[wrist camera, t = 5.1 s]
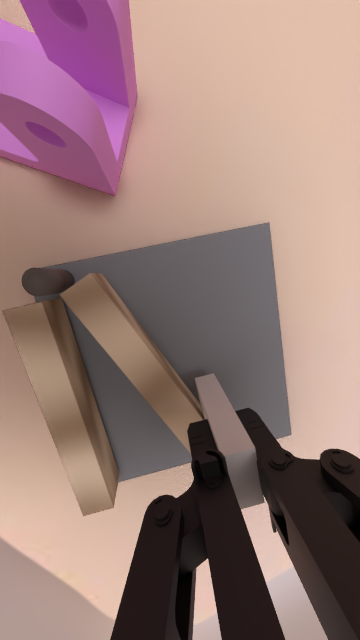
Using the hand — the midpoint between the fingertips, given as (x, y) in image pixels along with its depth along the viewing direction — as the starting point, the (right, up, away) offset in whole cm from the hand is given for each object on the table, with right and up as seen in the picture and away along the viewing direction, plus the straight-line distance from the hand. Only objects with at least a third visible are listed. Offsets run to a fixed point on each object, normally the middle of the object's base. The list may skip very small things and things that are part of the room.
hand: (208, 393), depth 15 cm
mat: (-2, +2, +2) cm, 3 cm away
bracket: (-11, +17, -2) cm, 21 cm away
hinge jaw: (-4, +2, +1) cm, 4 cm away
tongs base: (-9, +1, +1) cm, 9 cm away
